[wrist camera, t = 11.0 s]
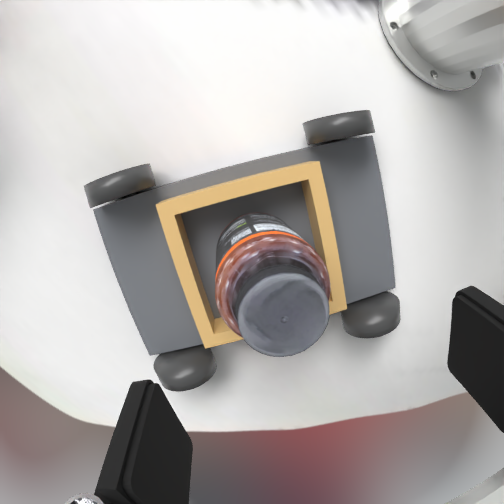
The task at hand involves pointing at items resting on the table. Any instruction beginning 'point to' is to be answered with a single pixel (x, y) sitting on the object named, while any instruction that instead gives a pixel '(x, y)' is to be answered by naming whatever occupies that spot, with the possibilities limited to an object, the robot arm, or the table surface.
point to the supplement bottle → (271, 285)
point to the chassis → (229, 208)
